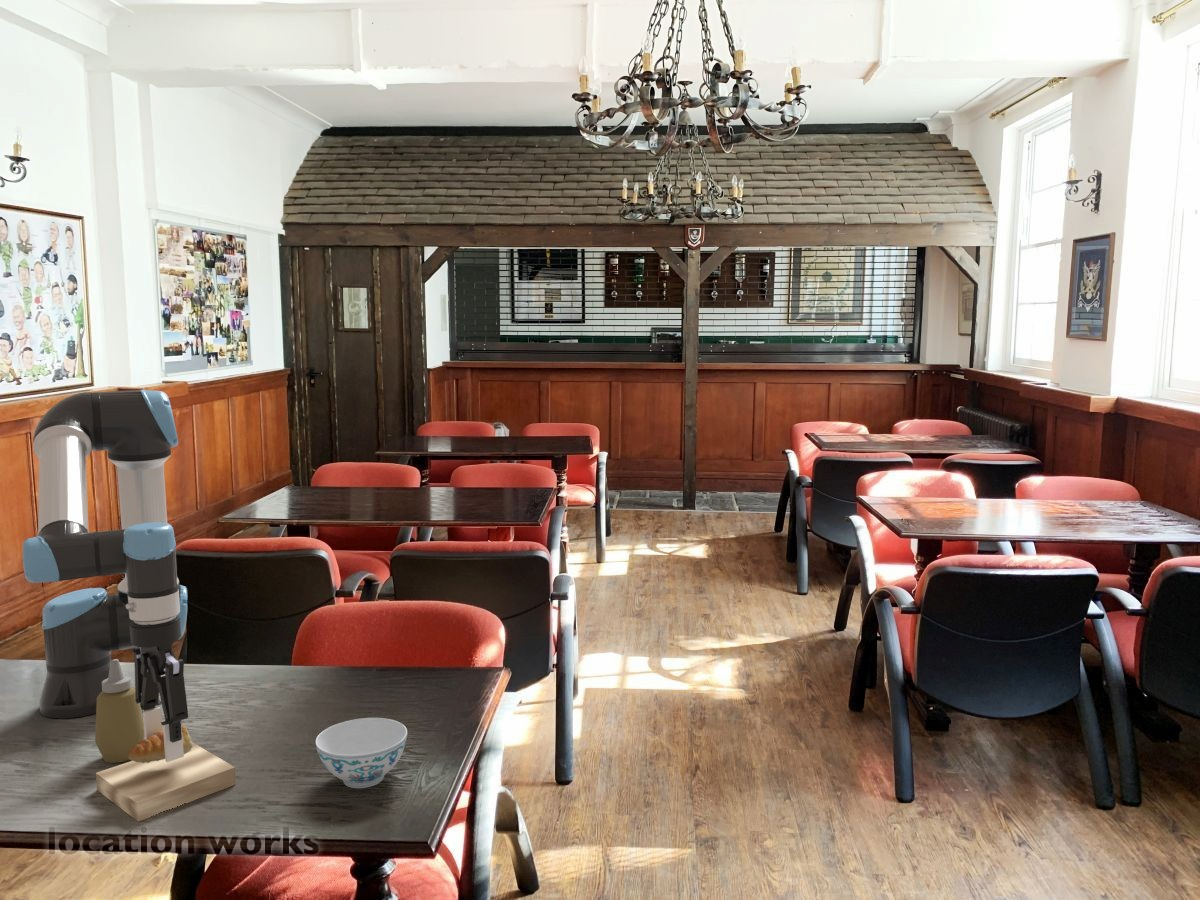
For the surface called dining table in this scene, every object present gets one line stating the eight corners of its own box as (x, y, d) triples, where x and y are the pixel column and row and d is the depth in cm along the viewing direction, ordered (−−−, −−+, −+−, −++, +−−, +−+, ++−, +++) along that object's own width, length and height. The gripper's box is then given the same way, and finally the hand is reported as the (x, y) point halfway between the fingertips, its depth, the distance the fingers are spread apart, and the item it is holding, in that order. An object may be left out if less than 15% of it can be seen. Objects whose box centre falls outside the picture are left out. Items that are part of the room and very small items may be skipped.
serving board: (97, 790, 156) (95, 773, 155) (191, 757, 168) (190, 741, 167) (138, 821, 145) (136, 803, 145) (236, 784, 157) (234, 767, 157)
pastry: (136, 770, 150) (134, 747, 149) (123, 758, 154) (121, 735, 154) (196, 751, 156) (194, 729, 156) (181, 740, 161) (179, 718, 161)
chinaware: (333, 759, 166) (331, 717, 165) (417, 759, 166) (416, 717, 165) (304, 800, 151) (302, 755, 150) (396, 801, 151) (394, 755, 150)
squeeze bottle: (98, 751, 170) (91, 656, 168) (147, 743, 174) (141, 650, 171) (94, 770, 163) (86, 670, 161) (145, 761, 166) (138, 664, 164)
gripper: (106, 612, 157) (116, 743, 159) (158, 635, 144) (168, 777, 146) (151, 602, 162) (160, 729, 165) (205, 623, 149) (214, 761, 152)
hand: (164, 752), depth 156 cm, fingers closed on pastry, 7 cm apart
